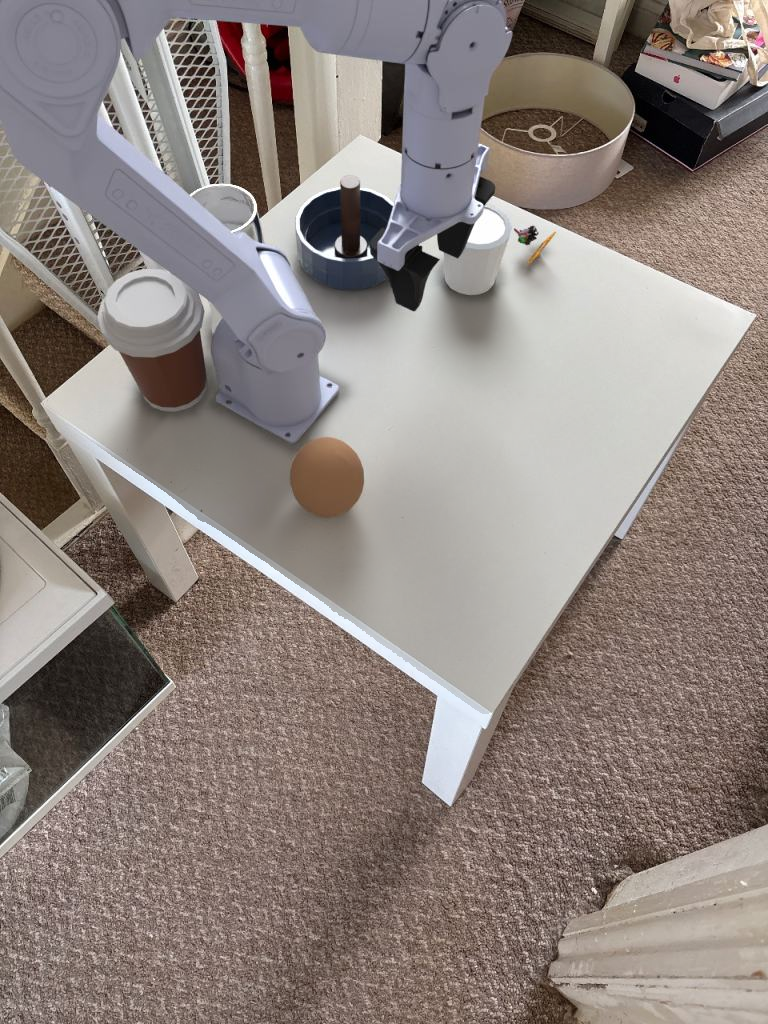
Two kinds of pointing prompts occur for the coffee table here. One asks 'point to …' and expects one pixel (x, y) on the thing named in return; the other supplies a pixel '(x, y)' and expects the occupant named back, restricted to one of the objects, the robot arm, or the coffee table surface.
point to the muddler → (350, 221)
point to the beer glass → (230, 217)
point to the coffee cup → (157, 336)
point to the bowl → (323, 227)
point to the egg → (326, 477)
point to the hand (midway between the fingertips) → (429, 278)
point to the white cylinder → (479, 254)
